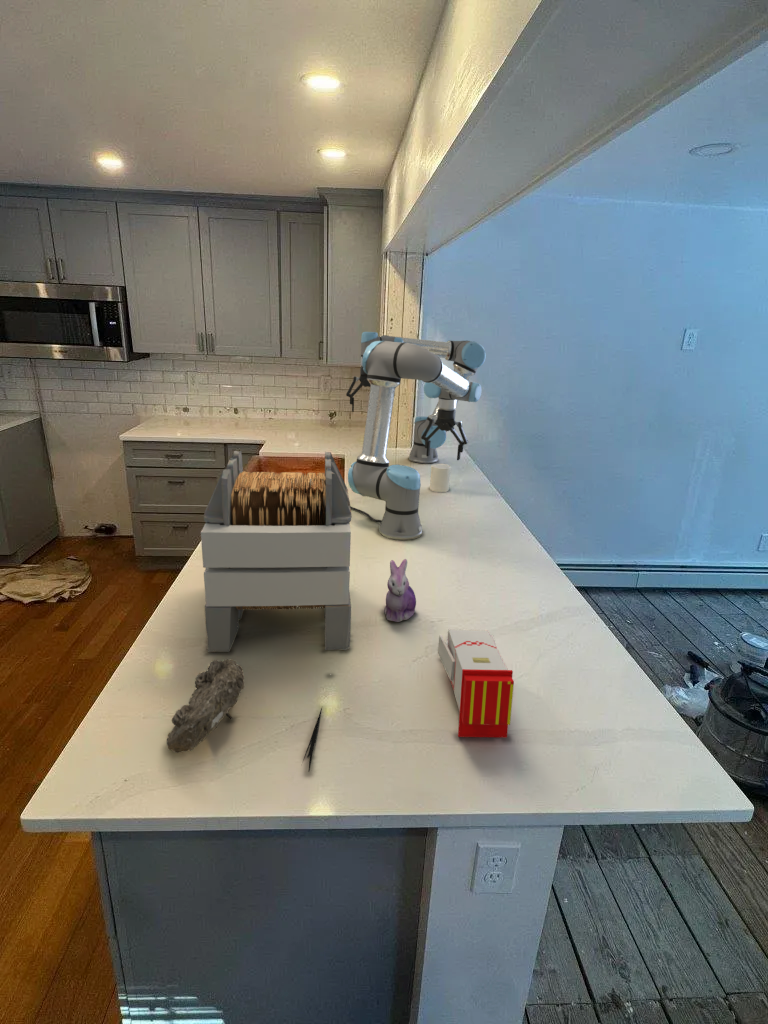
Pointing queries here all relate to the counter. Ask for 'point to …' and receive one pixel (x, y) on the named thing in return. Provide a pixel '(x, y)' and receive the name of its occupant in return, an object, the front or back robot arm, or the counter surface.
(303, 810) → the counter surface
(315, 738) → the feather
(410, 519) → the front robot arm
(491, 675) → the toy
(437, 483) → the canister
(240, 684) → the fossil
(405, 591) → the figurine
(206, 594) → the transformer
